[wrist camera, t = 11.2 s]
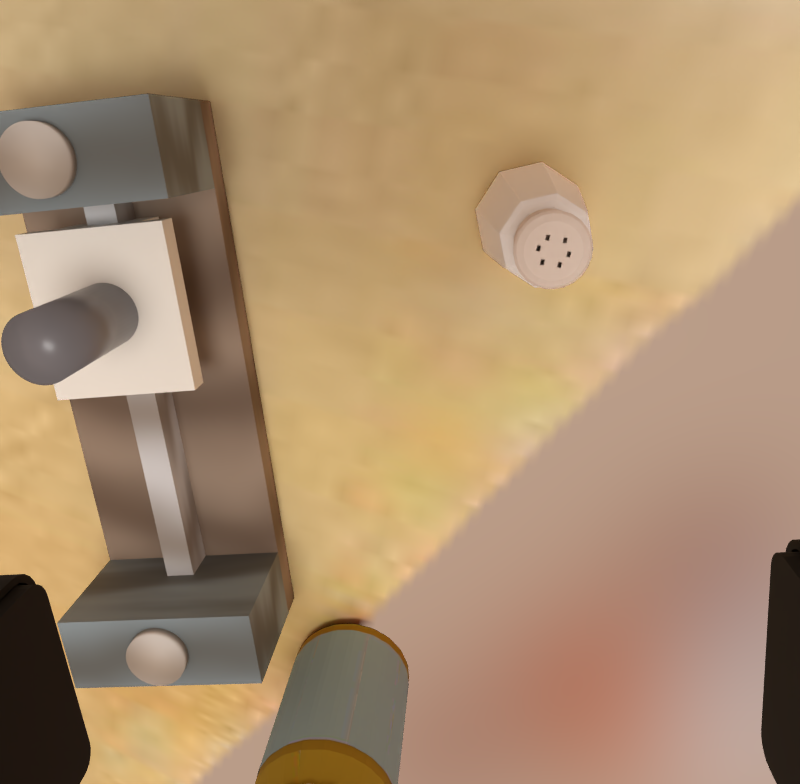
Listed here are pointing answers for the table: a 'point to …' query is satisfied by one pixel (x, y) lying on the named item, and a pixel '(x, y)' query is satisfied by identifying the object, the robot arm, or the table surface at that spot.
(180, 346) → the carriage
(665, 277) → the table surface
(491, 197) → the pepper shaker
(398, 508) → the table surface
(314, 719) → the bottle
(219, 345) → the rail track
